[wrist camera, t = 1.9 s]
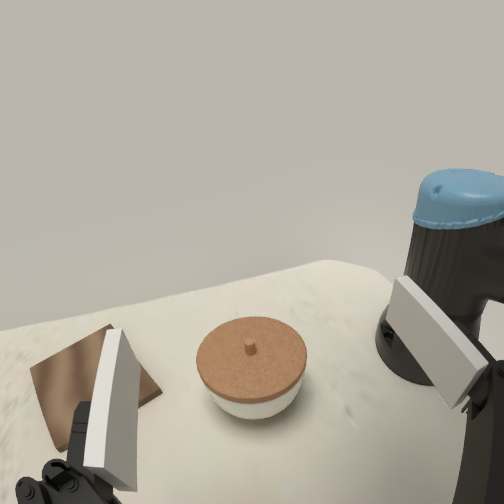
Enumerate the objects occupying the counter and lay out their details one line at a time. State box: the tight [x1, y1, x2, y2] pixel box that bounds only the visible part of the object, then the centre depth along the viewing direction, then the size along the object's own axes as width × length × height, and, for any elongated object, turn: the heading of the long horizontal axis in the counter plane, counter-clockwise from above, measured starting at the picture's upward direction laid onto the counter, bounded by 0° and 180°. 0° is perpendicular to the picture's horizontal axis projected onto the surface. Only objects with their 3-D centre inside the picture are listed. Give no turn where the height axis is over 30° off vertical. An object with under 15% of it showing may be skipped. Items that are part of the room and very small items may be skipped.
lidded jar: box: [196, 317, 307, 420], centre depth 29 cm, size 11×11×9 cm
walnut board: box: [30, 324, 162, 453], centre depth 33 cm, size 16×16×1 cm
